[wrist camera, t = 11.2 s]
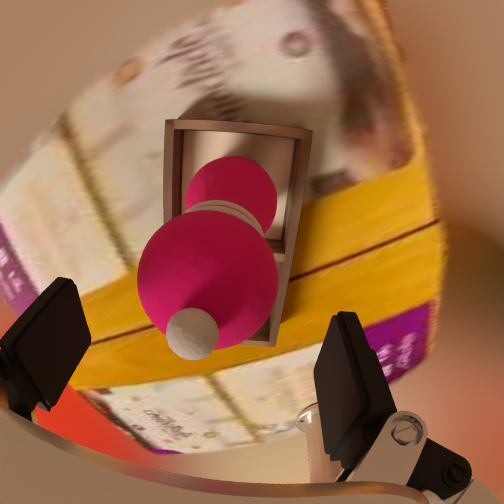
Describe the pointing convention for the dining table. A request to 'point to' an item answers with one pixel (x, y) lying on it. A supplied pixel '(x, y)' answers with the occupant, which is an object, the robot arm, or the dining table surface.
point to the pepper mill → (213, 261)
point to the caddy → (265, 155)
